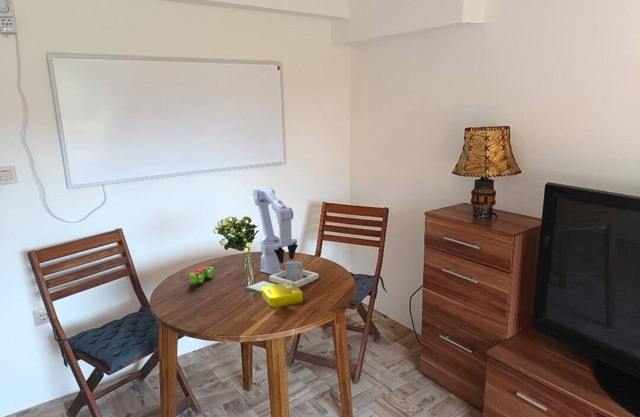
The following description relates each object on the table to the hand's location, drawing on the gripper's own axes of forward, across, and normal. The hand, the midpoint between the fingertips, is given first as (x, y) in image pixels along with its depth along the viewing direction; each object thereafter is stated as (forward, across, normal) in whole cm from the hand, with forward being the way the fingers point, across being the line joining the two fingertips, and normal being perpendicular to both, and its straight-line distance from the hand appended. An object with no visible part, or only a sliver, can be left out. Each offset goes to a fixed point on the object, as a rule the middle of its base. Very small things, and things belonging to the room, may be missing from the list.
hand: (286, 260), depth 208 cm
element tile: (+11, -17, -13) cm, 24 cm away
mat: (+10, -12, +4) cm, 16 cm away
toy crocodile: (+11, -23, +37) cm, 44 cm away
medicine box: (+11, +4, -1) cm, 11 cm away
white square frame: (+10, +4, -1) cm, 11 cm away
